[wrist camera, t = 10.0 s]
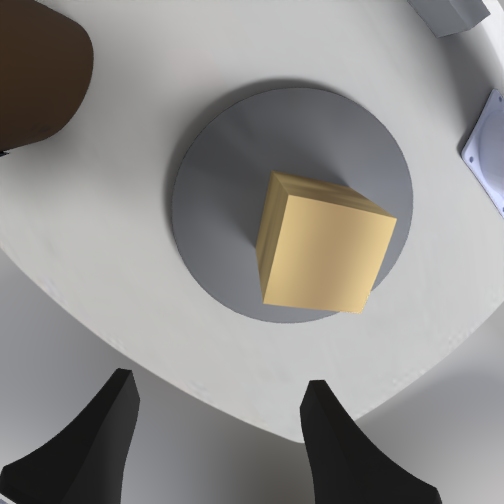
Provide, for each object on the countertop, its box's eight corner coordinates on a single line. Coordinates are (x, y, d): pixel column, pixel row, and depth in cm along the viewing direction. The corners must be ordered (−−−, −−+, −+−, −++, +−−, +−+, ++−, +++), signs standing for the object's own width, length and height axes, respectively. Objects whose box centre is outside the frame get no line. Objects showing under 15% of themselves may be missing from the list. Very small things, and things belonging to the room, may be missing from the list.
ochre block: (350, 187, 17) (396, 218, 12) (329, 259, 19) (361, 313, 14) (271, 170, 16) (288, 194, 11) (255, 248, 18) (262, 303, 13)
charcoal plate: (440, 184, 18) (447, 188, 17) (319, 341, 23) (322, 349, 22) (259, 42, 14) (260, 38, 13) (137, 254, 19) (133, 261, 18)
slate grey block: (459, 21, 12) (490, 13, 9) (436, 38, 13) (469, 29, 10) (428, -18, 11) (456, -32, 7) (402, -4, 12) (431, -21, 8)
